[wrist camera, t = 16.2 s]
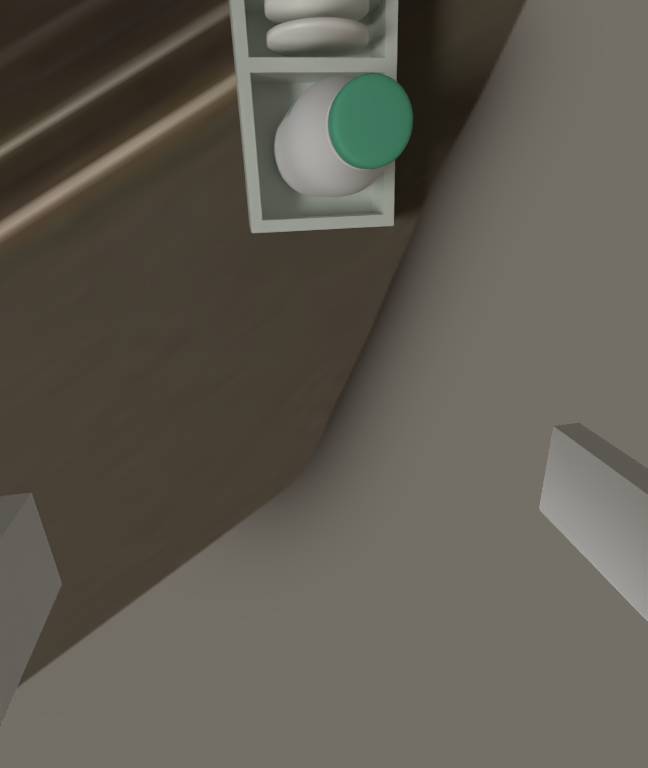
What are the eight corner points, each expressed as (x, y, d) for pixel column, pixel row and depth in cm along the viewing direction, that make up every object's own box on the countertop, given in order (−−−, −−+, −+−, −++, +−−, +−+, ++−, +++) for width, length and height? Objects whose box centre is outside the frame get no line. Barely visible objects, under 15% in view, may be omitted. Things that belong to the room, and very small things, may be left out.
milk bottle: (348, 201, 45) (427, 206, 27) (269, 191, 44) (296, 188, 26) (360, 111, 43) (456, 50, 24) (275, 96, 41) (312, 18, 23)
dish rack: (249, 229, 46) (253, 237, 37) (228, 1, 39) (227, -50, 31) (378, 222, 48) (408, 228, 39) (380, 4, 41) (417, -43, 32)
